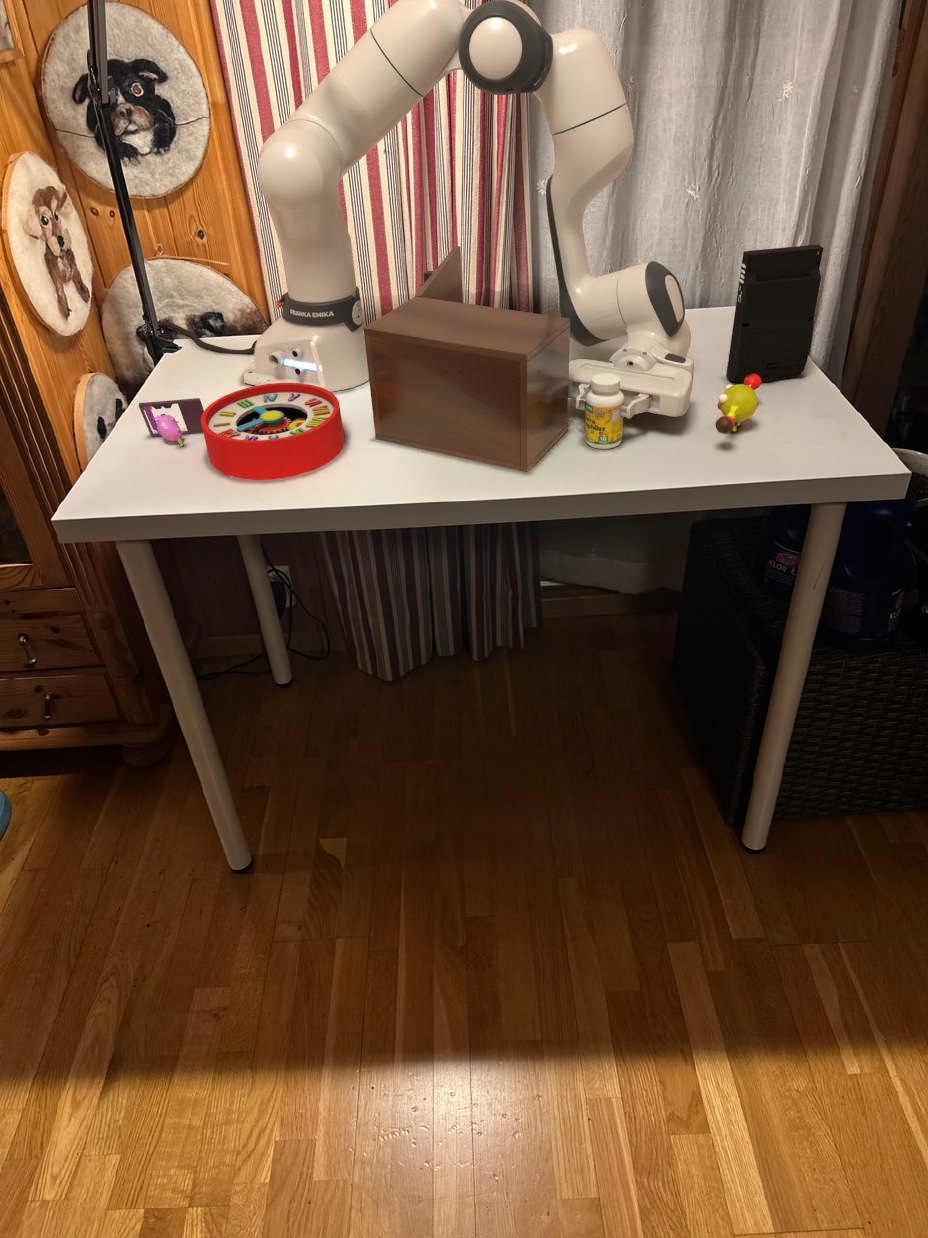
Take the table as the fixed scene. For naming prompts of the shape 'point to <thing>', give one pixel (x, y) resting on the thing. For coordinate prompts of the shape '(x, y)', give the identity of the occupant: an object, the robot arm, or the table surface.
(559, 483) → the table surface
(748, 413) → the toy figure
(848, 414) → the table surface
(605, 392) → the supplement bottle
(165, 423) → the pink toy with backboard
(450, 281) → the cabinet door
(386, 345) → the cabinet
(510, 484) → the table surface
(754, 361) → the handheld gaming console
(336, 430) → the toy clock
